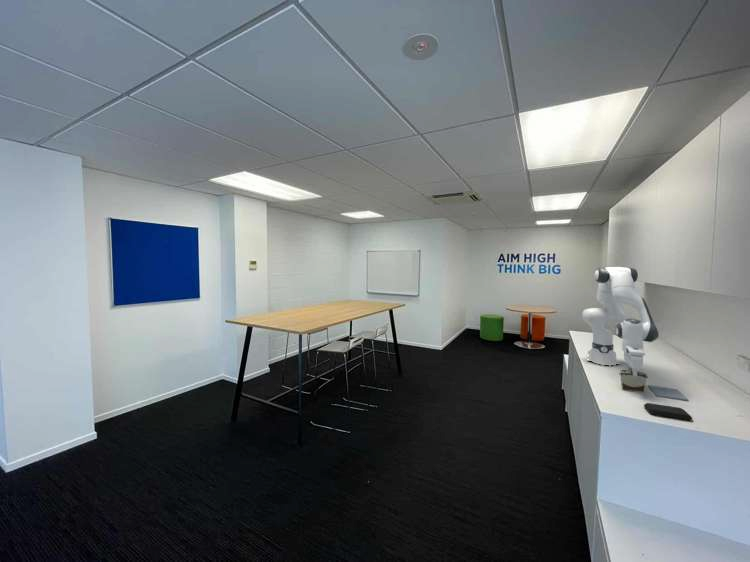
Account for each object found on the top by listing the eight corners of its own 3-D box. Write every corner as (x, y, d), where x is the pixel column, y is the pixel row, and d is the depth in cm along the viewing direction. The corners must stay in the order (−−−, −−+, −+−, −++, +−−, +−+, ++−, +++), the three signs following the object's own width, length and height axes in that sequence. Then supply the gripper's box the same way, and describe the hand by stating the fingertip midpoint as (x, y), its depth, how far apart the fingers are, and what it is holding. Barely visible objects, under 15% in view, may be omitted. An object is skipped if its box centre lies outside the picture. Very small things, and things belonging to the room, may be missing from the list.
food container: (642, 388, 165) (643, 370, 164) (647, 392, 159) (648, 374, 158) (615, 385, 170) (615, 368, 169) (619, 389, 164) (619, 371, 164)
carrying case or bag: (682, 412, 138) (641, 406, 145) (682, 406, 138) (641, 400, 145) (694, 423, 129) (649, 416, 135) (694, 416, 128) (649, 409, 135)
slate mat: (647, 386, 167) (647, 384, 167) (676, 390, 161) (676, 388, 161) (656, 396, 154) (656, 395, 154) (688, 401, 148) (688, 399, 148)
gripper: (620, 343, 174) (620, 367, 174) (630, 352, 156) (629, 378, 156) (634, 345, 171) (634, 368, 171) (645, 353, 153) (645, 380, 153)
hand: (632, 373), depth 163 cm, fingers open, 8 cm apart
